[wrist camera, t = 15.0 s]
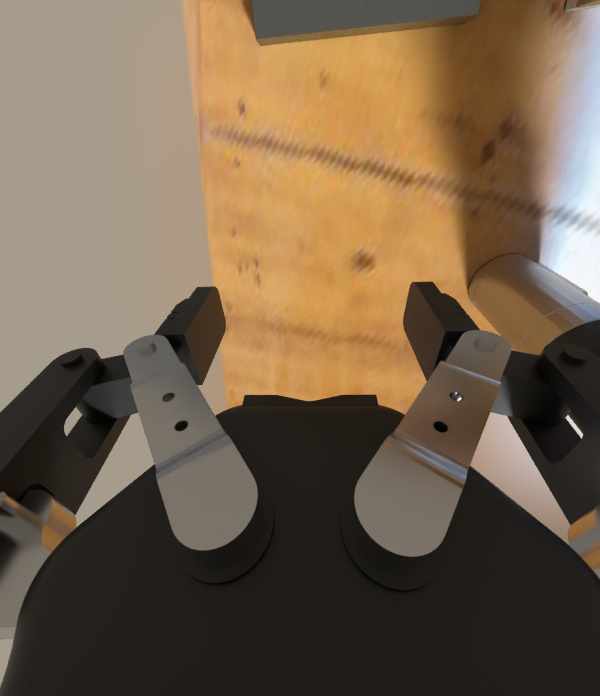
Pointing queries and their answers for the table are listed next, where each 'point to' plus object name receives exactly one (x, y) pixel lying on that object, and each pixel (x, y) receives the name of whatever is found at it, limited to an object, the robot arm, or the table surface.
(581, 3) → the skincare box
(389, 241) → the table surface
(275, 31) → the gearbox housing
